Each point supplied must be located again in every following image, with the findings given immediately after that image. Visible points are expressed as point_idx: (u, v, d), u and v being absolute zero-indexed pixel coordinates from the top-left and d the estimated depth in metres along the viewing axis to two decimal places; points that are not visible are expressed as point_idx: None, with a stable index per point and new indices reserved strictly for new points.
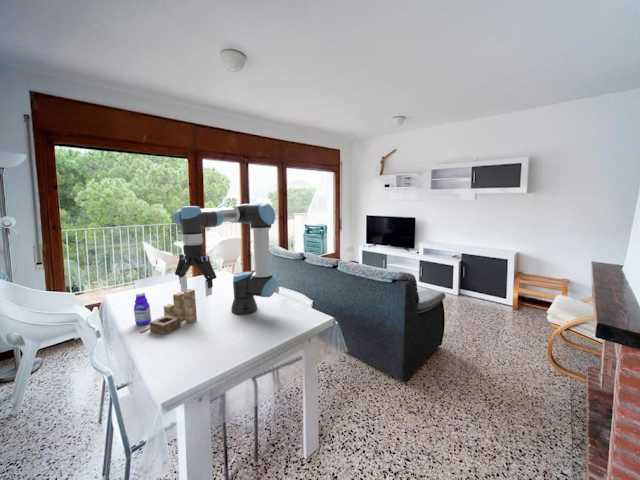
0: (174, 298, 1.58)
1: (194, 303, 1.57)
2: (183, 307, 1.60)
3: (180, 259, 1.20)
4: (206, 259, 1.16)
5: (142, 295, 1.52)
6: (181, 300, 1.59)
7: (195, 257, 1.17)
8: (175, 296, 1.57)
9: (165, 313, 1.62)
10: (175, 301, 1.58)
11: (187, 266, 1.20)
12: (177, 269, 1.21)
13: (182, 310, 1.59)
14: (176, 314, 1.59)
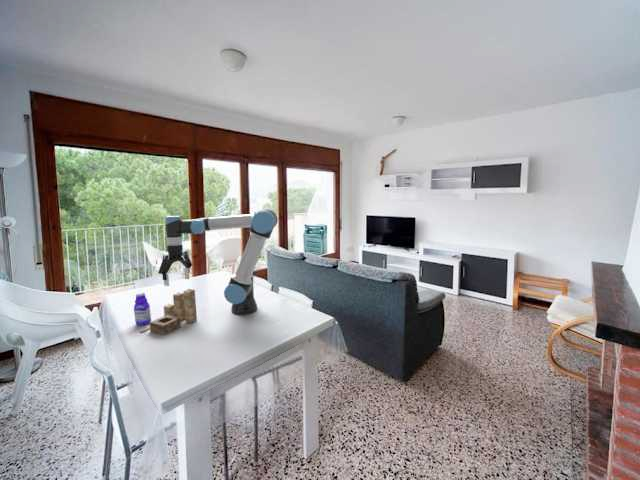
0: (174, 298, 1.58)
1: (194, 303, 1.57)
2: (183, 307, 1.60)
3: None
4: (164, 257, 1.49)
5: (142, 295, 1.52)
6: (181, 300, 1.59)
7: None
8: (175, 296, 1.57)
9: (165, 313, 1.62)
10: (175, 301, 1.58)
11: (180, 260, 1.59)
12: None
13: (182, 310, 1.59)
14: (176, 314, 1.59)
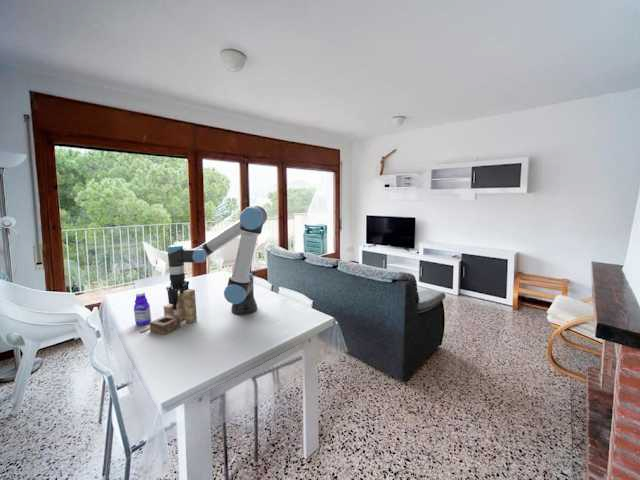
0: None
1: (194, 303, 1.57)
2: (183, 307, 1.60)
3: None
4: (167, 289, 1.53)
5: (142, 295, 1.52)
6: (181, 300, 1.59)
7: None
8: None
9: (165, 313, 1.62)
10: None
11: (179, 290, 1.60)
12: None
13: (182, 310, 1.59)
14: None
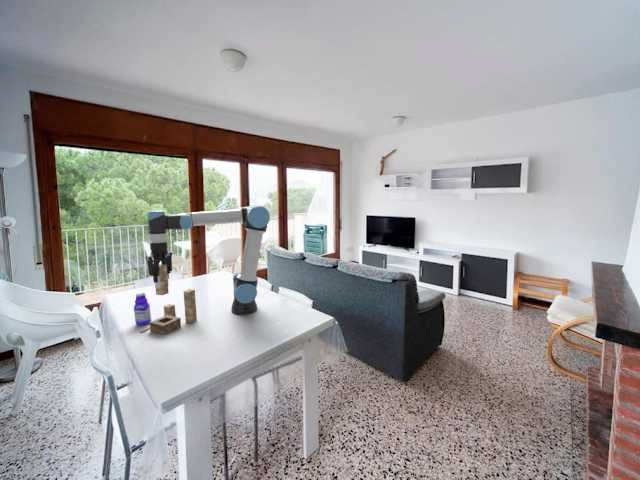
0: None
1: (194, 303, 1.57)
2: (165, 280, 1.45)
3: None
4: (147, 259, 1.38)
5: (142, 295, 1.52)
6: (163, 271, 1.44)
7: None
8: None
9: (165, 313, 1.62)
10: None
11: (161, 261, 1.45)
12: None
13: (164, 283, 1.44)
14: None
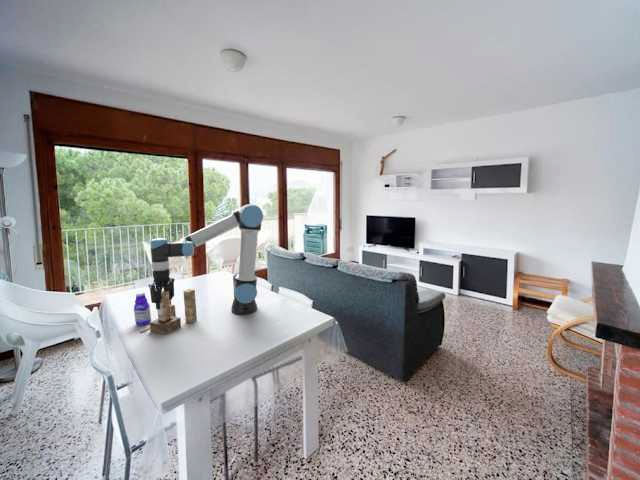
0: None
1: (194, 303, 1.57)
2: (167, 306, 1.47)
3: None
4: (150, 287, 1.40)
5: (142, 295, 1.52)
6: (165, 298, 1.46)
7: None
8: None
9: None
10: None
11: (164, 287, 1.47)
12: None
13: (166, 309, 1.46)
14: None
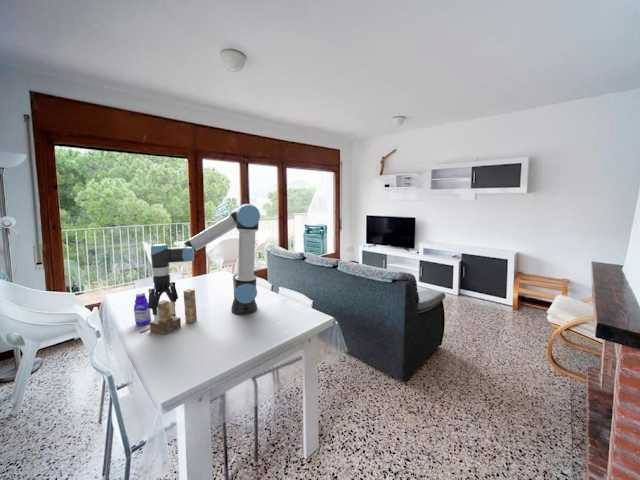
0: (157, 307, 1.45)
1: (194, 303, 1.57)
2: (168, 316, 1.48)
3: None
4: (150, 291, 1.40)
5: (142, 295, 1.52)
6: (166, 308, 1.46)
7: None
8: (159, 305, 1.45)
9: None
10: (159, 310, 1.45)
11: (166, 292, 1.49)
12: None
13: (167, 319, 1.47)
14: None
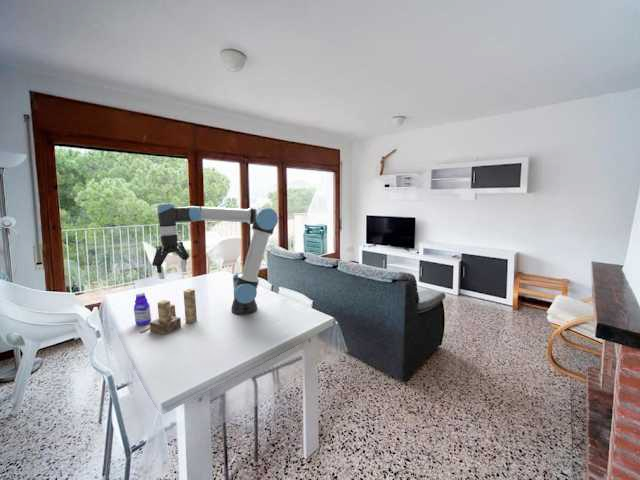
0: (158, 306, 1.46)
1: (194, 303, 1.57)
2: (169, 316, 1.48)
3: None
4: (157, 248, 1.38)
5: (142, 295, 1.52)
6: (166, 308, 1.47)
7: None
8: (160, 304, 1.45)
9: None
10: (160, 310, 1.46)
11: (175, 251, 1.48)
12: None
13: (167, 319, 1.47)
14: None
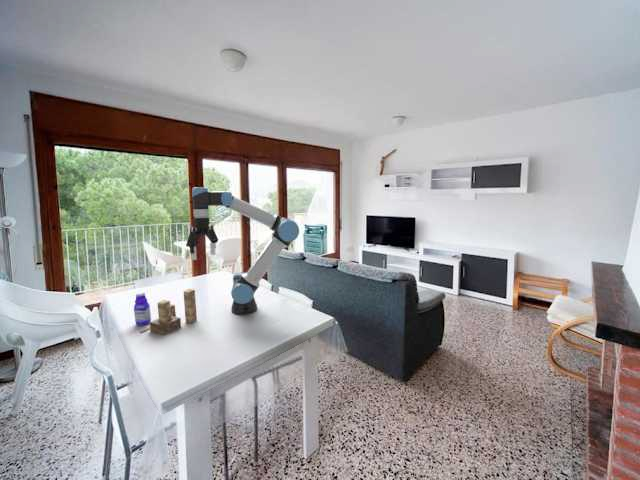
0: (158, 306, 1.46)
1: (194, 303, 1.57)
2: (169, 316, 1.48)
3: None
4: (191, 229, 1.44)
5: (142, 295, 1.52)
6: (166, 308, 1.47)
7: None
8: (160, 304, 1.45)
9: None
10: (160, 310, 1.46)
11: (206, 234, 1.54)
12: None
13: (167, 319, 1.47)
14: None
